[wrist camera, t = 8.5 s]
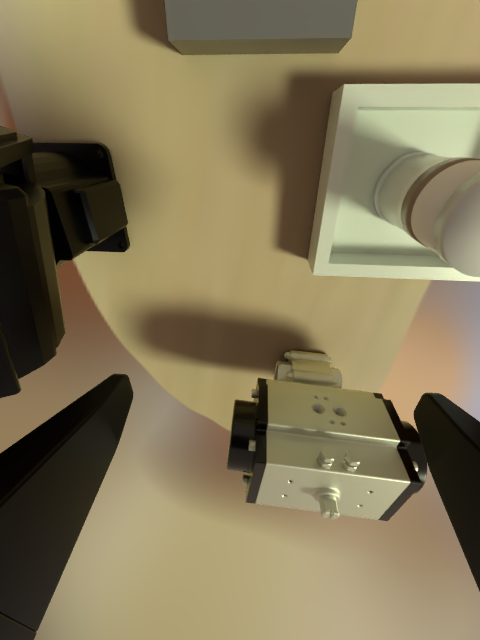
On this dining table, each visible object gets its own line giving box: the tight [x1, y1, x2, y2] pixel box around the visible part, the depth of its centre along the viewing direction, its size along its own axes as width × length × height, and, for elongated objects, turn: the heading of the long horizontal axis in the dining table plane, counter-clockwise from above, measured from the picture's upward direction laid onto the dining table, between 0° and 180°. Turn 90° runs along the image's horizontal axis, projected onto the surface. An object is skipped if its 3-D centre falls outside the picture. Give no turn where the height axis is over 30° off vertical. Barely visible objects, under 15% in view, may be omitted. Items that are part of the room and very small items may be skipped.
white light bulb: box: [373, 152, 480, 277], centre depth 13 cm, size 4×4×8 cm
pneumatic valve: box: [226, 350, 427, 521], centre depth 20 cm, size 6×12×12 cm, turn 84°
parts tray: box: [308, 83, 480, 281], centre depth 16 cm, size 10×9×3 cm
